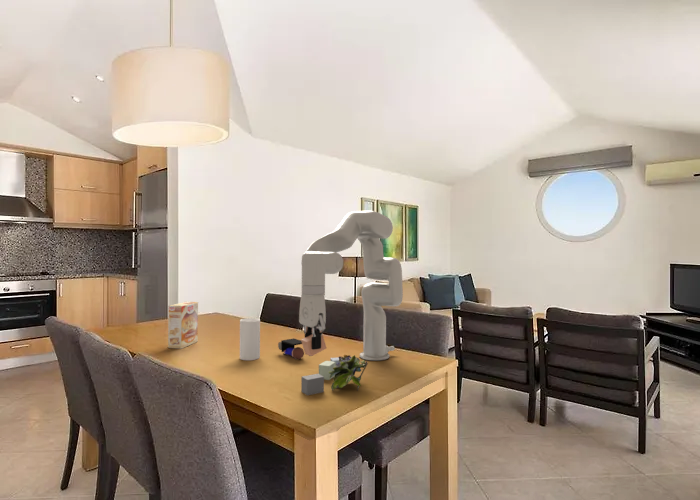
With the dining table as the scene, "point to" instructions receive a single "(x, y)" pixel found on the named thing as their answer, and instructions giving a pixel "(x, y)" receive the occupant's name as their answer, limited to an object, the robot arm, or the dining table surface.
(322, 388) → the charcoal brick
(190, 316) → the coffeecake box
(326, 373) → the sage brick
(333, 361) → the slate-blue brick
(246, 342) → the cup
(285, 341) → the figurine character
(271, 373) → the dining table surface
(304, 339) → the terracotta brick
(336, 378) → the passion flower
